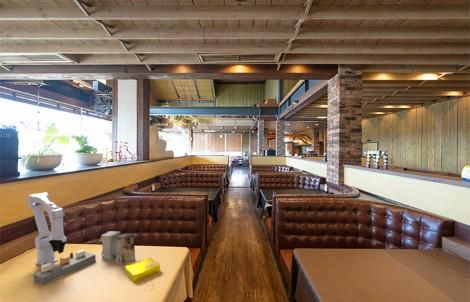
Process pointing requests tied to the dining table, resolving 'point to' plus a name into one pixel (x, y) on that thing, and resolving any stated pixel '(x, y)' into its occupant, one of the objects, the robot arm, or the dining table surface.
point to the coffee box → (124, 249)
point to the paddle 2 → (80, 253)
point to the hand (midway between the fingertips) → (58, 252)
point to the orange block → (64, 260)
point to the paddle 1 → (46, 267)
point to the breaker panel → (63, 269)
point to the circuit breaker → (109, 244)
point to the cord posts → (70, 257)
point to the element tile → (142, 269)
